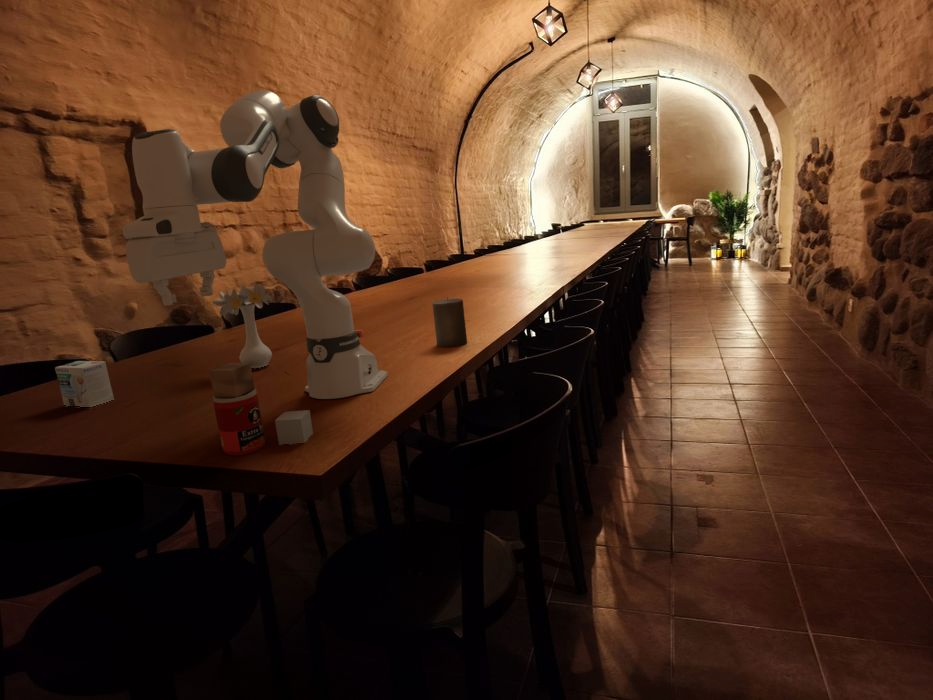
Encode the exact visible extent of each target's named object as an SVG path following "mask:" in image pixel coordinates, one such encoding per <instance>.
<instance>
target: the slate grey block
mask: <svg viewBox="0 0 933 700" xmlns="http://www.w3.org/2000/svg"><path fill="white" fill-rule="evenodd" d="M274 422H275V423H274V424H275V429H276V435H277V440H278V445H279V446H283V445H282V444H289V445H297V444H296V443H305V442H306V443H307V442H308V441H309V439H310V438H311V437H312V436H313V435H314V430H313V424H312V418H311V410H310V409H307V410H306V409H303V410H292V411H289V410H288V411H284V412H283V413H282V414H280V415H279V416H278V417H277V418H276V419H275V420H274ZM311 435H312V436H311ZM310 436H311V437H310ZM309 437H310V438H309ZM308 438H309V439H308ZM294 443H295V444H294ZM306 443H305V444H306Z"/></svg>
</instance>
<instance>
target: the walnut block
mask: <svg viewBox="0 0 933 700" xmlns="http://www.w3.org/2000/svg"><path fill="white" fill-rule="evenodd" d="M208 371H209V376H210V380H211V387H212V391H213V396H214V397H238V396H240V395H243V394H245V393H247V392H249V391H251V390H253V389H256V388H255V383H254V377H253V376H254V375H253V372H252V369H251V365H250V363H242V362H228V363H225V364H222V365H220V366H218V367H214V368H212V369H210V370H208Z"/></svg>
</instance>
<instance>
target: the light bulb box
mask: <svg viewBox="0 0 933 700" xmlns="http://www.w3.org/2000/svg"><path fill="white" fill-rule="evenodd" d="M54 370H55V373H56V374H55V375H56V378H57V381H58V385H59V388H60V389H59V390H60V393H61V398H62V403H63V405H66V406H65V407H68V406H80V407H93V406H96V405H99V404H102V405H104V404H103V403H105V404H107V403H106V402H108V403H110V402H109V401H111V400H114V401H115V398H114V393H113V389H112V386H111V385H112V384H111V382H110V381H111V379H110V377H109V372H108V368H107V363H106V361H103V360H101V361H100V360H99V361H97V360H96V361H94V360H89V361H88V360H76V361H73V362H69V363H66V364H62V365H59V366H55V367H54ZM111 402H112V401H111ZM99 406H100V405H99ZM80 407H79V408H80ZM96 407H97V406H96Z"/></svg>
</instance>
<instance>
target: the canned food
mask: <svg viewBox="0 0 933 700" xmlns="http://www.w3.org/2000/svg"><path fill="white" fill-rule="evenodd" d="M212 402H213V410H214V413H215V418H216V423H217V429H218V434H219V437H220V443H221V447H222V451H223V452H224V454H226V455H228V456H237V457H239V456H245V455H250V454H252V453H255V452H257V451H259V449H260V450H261V449H263V448H264V446H265V444H266V435H265V430H264V425H263V420H262V415H261V413H262V412H261V406H260V402H259V397H258V392H257V389H256V388H255V389H253V390H251V391H249V392H247V393H245V394H243V395H240V396H238V397H214V395H213V396H212Z"/></svg>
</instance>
